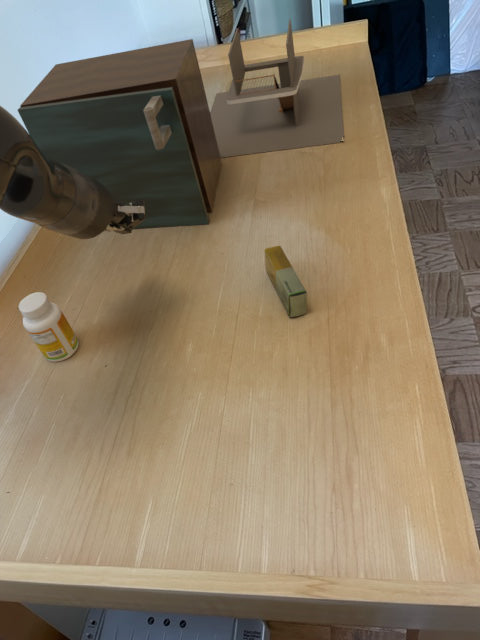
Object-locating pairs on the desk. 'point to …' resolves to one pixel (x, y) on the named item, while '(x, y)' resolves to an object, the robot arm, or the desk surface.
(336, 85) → the grey brown stand-shaped piece
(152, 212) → the door
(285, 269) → the medication box
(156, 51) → the cupboard
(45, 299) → the supplement bottle
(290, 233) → the desk surface
